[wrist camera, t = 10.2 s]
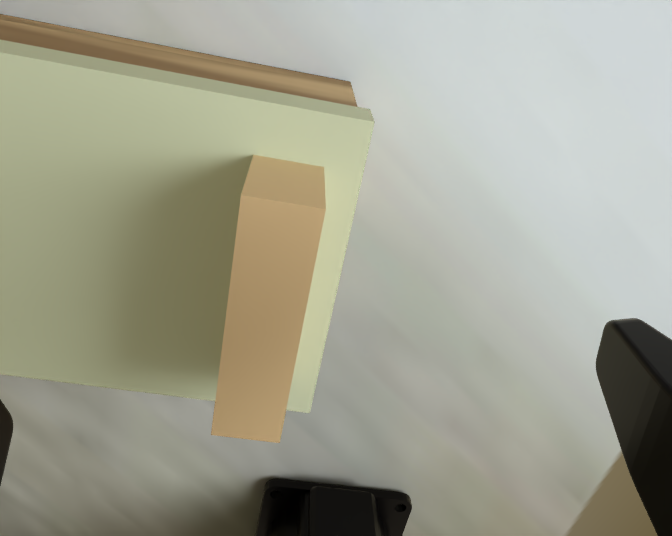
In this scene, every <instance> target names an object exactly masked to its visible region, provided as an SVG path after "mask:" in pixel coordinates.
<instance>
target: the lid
mask: <svg viewBox="0 0 672 536" xmlns="http://www.w3.org/2000/svg"><path fill="white" fill-rule="evenodd" d="M373 127H374V119H373V116H372V114H371V111H370V109H365V108H360V107H355V106H350V105H344V104H339V103H334V102H328V101H323V100H318V99H313V98H307V97H302V96H297V95H291V94H286V93H281V92H275V91H270V90H265V89H260V88H254V87H249V86H244V85H238V84H233V83H228V82H223V81H217V80H212V79H207V78H201V77H196V76H191V75H185V74H180V73H175V72H170V71H164V70H159V69H154V68H148V67H143V66H138V65H133V64H127V63H122V62H117V61H111V60H106V59H101V58H95V57H90V56H85V55H80V54H74V53H69V52H64V51H58V50H53V49H48V48H42V47H37V46H32V45H27V44H21V43H16V42H11V41H5V40H0V374H2V375H10V376H18V377H26V378H34V379H42V380H50V381H58V382H65V383H73V384H81V385H89V386H97V387H105V388H113V389H121V390H129V391H137V392H145V393H153V394H161V395H169V396H177V397H185V398H193V399H201V400H209V401H215V407H214V415H213V423H212V431H211V435H217V436H225V437H234V438H242V439H251V440H259V441H267V442H276V443H280V438H281V433H282V428H283V423H284V418H285V413H286V410H289V411H297V412H305V413H310V409H311V405H312V400H313V396H314V391H315V387H316V382H317V378H318V373H319V369H320V364H321V360H322V355H323V351H324V346H325V342H326V337H327V333H328V329H329V324H330V320H331V315H332V311H333V306H334V302H335V297H336V293H337V288H338V284H339V279H340V275H341V270H342V266H343V261H344V257H345V252H346V248H347V243H348V239H349V234H350V230H351V225H352V221H353V216H354V212H355V207H356V203H357V198H358V194H359V190H360V185H361V181H362V176H363V172H364V167H365V163H366V158H367V154H368V149H369V145H370V140H371V136H372V131H373Z"/></svg>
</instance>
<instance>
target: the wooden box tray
mask: <svg viewBox="0 0 672 536" xmlns="http://www.w3.org/2000/svg"><path fill="white" fill-rule="evenodd" d="M0 40H5V41H11V42H16V43H21V44H27V45H32V46H37V47H42V48H48V49H53V50H58V51H64V52H69V53H74V54H80V55H85V56H90V57H95V58H101V59H106V60H111V61H117V62H122V63H127V64H133V65H138V66H143V67H148V68H154V69H159V70H164V71H170V72H175V73H180V74H185V75H191V76H196V77H201V78H207V79H212V80H217V81H223V82H228V83H233V84H238V85H244V86H249V87H254V88H260V89H265V90H270V91H275V92H281V93H286V94H291V95H297V96H302V97H307V98H313V99H318V100H323V101H328V102H334V103H339V104H344V105H350V106H355V107H357V104H356V100H355V97H354V93H353V89H352V86H351V82H349V81H343V80H338V79H333V78H328V77H323V76H318V75H312V74H307V73H302V72H297V71H292V70H287V69H281V68H276V67H271V66H266V65H261V64H256V63H250V62H245V61H240V60H235V59H230V58H225V57H219V56H214V55H209V54H204V53H199V52H194V51H189V50H183V49H178V48H173V47H168V46H163V45H158V44H152V43H147V42H142V41H137V40H132V39H127V38H121V37H116V36H111V35H106V34H101V33H96V32H90V31H85V30H80V29H75V28H70V27H65V26H59V25H54V24H49V23H44V22H39V21H34V20H28V19H23V18H18V17H13V16H8V15H3V14H0Z"/></svg>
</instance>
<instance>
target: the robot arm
mask: <svg viewBox="0 0 672 536" xmlns="http://www.w3.org/2000/svg"><path fill="white" fill-rule="evenodd" d="M596 371H597V376H598V379H599V382H600V386H601V389H602V392H603V395H604V398H605V401H606V404H607V407H608V410H609V413H610V416H611V419H612V422H613V425H614V428H615V431H616V434H617V437H618V440H619V443H620V447H621V450H622V453H623V456H624V458H625V461H626V464H627V467H628V469H629V473H630V475H631V477H632V480H633V482H634V484H635V487H636V489H637V491H638V493H639V496H640V498H641V500H642V502H643V504H644V507H645V509H646V511H647V513H648V515H649V517H650V520H651V522H652V524H653V526H654V528H655V531H656V533H657V535H658V536H672V340H671V339H670V338H668V337H667V336H665V335H664V334H662V333H661V332H659V331H657V330H656V329H654V328H653V327H651V326H650V325H648V324H647V323H645V322H644V321H642V320H640V319H636V318H630V319H619V320H611V321H609V322H608V323H607V324H606V325H605V327H604V330H603V334H602V338H601V342H600V346H599V350H598V354H597V358H596ZM12 433H13V420H12V417H11V415H10V413H9V411H8V410H7V408H6V407H5V405H4V404H3V403H2V401H1V400H0V485H1V481H2V476H3V472H4V468H5V463H6V459H7V455H8V450H9V446H10V442H11V437H12ZM275 490H277V491H275ZM398 504H399V505H398ZM411 509H412V505H411V499H410V497H409V496H408V495H407V494H405V493H400V492H391V491H382V490H373V489H364V488H355V487H346V486H337V485H328V484H319V483H310V482H301V481H292V480H283V479H272V480H269V481H268V482H267V483H266V485H265V489H264V494H263V499H262V504H261V510H260V515H259V520H258V525H257V531H256V536H402V534H403V531H404V529H405V526H406V523H407V520H408V518H409V515H410V512H411Z"/></svg>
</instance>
